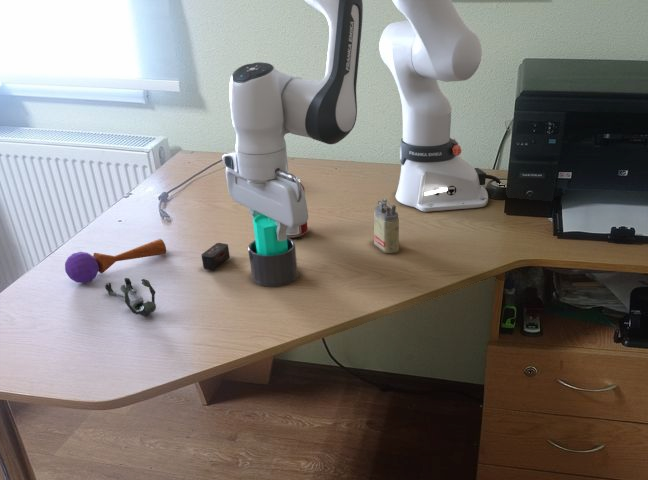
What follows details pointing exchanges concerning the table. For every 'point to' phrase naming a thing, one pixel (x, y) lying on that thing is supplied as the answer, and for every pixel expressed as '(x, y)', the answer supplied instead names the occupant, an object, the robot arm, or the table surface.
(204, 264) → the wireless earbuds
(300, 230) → the soda can
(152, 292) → the zombie figurine
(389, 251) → the lighter
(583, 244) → the table surface
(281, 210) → the robot arm
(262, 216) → the candle
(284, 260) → the cup
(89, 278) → the kendama
